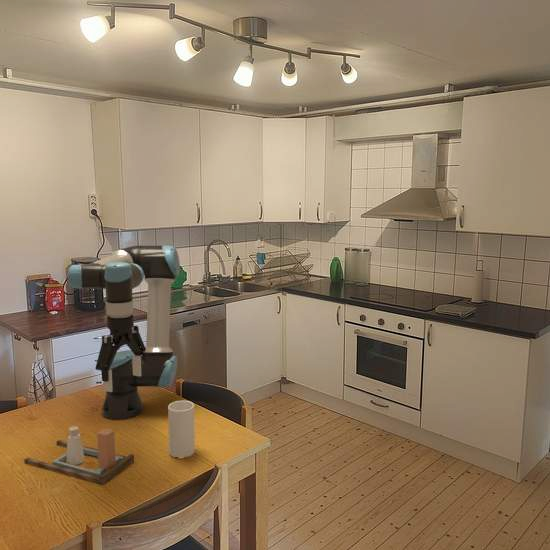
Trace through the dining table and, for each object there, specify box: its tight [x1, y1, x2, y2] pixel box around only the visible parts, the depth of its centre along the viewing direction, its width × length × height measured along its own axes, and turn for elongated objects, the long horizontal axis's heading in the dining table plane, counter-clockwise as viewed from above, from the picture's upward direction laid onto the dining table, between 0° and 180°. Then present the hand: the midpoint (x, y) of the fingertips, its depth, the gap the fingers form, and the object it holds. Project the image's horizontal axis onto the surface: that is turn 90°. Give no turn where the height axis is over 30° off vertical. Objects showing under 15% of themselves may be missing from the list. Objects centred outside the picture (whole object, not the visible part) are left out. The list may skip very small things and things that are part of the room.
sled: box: [52, 428, 123, 477], centre depth 156 cm, size 18×11×12 cm, turn 67°
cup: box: [167, 400, 196, 458], centre depth 164 cm, size 8×8×16 cm
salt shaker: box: [65, 425, 85, 466], centre depth 159 cm, size 5×5×11 cm
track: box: [24, 439, 135, 486], centre depth 158 cm, size 31×14×2 cm, turn 67°
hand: (123, 383), depth 154 cm, fingers open, 13 cm apart
